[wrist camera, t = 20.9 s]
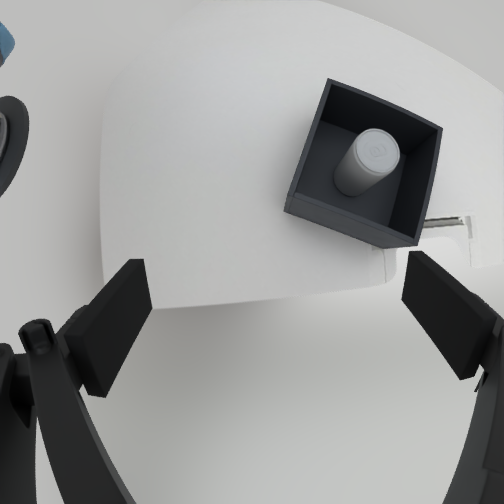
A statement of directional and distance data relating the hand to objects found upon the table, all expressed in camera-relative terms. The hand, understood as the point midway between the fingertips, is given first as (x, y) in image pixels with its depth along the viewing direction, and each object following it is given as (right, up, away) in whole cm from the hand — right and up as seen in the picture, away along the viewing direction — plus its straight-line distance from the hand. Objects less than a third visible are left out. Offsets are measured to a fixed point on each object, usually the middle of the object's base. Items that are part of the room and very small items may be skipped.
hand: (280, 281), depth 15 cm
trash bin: (+12, +11, +26) cm, 30 cm away
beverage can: (+11, +11, +25) cm, 29 cm away
